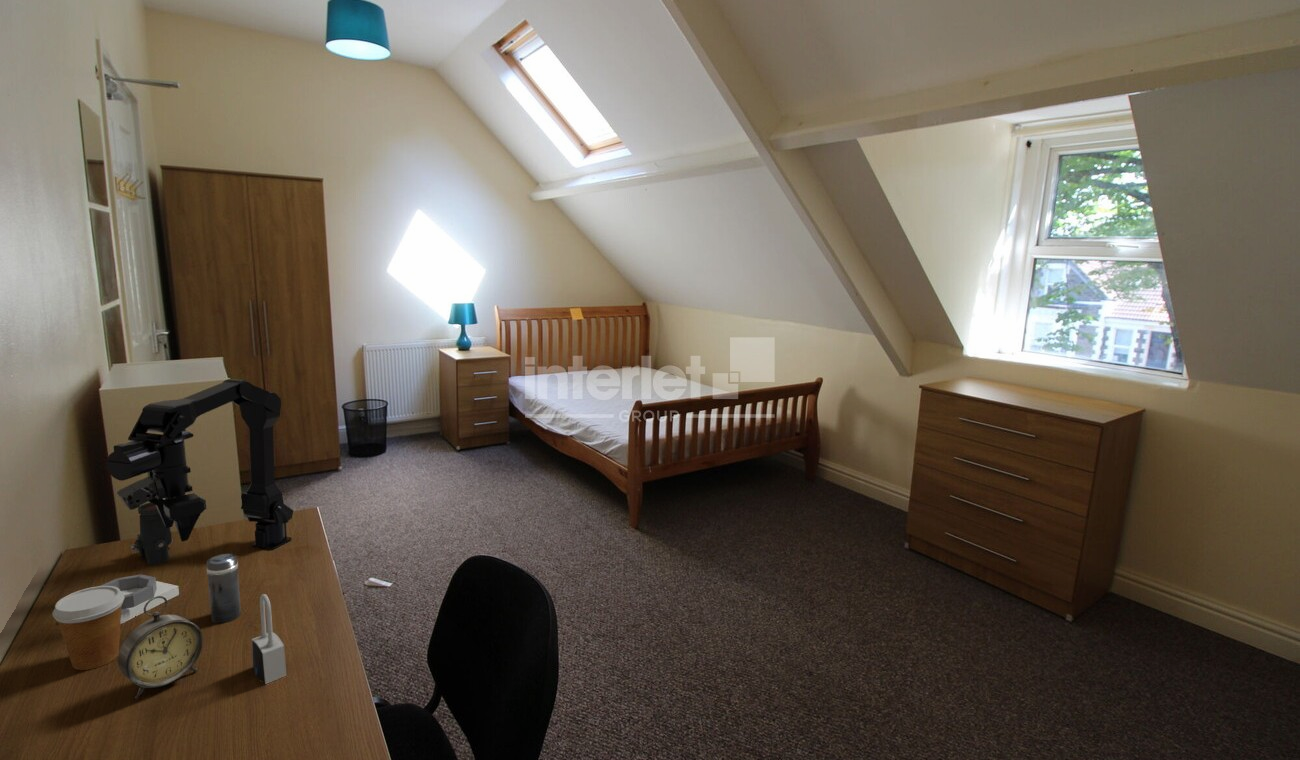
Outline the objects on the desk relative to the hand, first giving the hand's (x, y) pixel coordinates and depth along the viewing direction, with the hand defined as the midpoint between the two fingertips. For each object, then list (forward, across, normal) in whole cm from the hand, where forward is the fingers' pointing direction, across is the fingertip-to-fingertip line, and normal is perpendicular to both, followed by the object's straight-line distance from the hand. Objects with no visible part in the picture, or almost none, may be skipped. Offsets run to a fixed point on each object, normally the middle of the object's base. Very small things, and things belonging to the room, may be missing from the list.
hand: (176, 533), depth 132 cm
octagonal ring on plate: (+14, -2, -9) cm, 17 cm away
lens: (+14, +16, +3) cm, 21 cm away
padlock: (+14, +40, +1) cm, 43 cm away
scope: (+14, -21, +1) cm, 26 cm away
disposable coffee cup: (+14, +14, -18) cm, 26 cm away
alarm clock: (+14, +30, -12) cm, 35 cm away
